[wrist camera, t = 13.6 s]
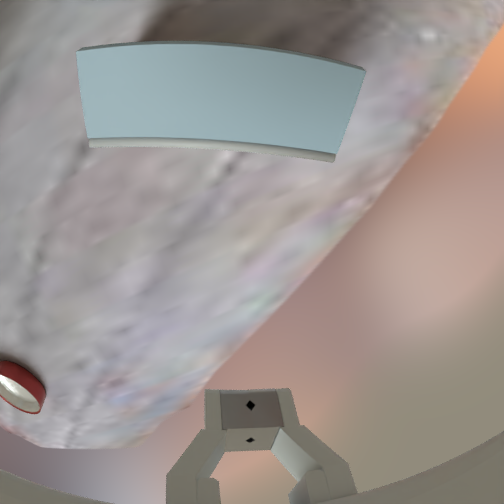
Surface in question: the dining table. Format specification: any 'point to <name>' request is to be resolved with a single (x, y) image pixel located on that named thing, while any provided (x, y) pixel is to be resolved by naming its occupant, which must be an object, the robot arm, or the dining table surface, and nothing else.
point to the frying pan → (21, 388)
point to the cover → (216, 97)
